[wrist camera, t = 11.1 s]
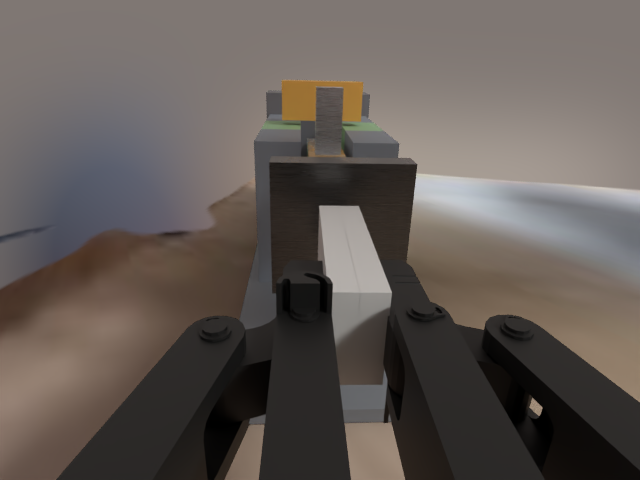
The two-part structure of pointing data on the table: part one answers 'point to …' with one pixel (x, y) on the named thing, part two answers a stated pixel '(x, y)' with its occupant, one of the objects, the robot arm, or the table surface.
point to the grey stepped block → (259, 298)
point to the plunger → (336, 191)
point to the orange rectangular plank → (303, 99)
